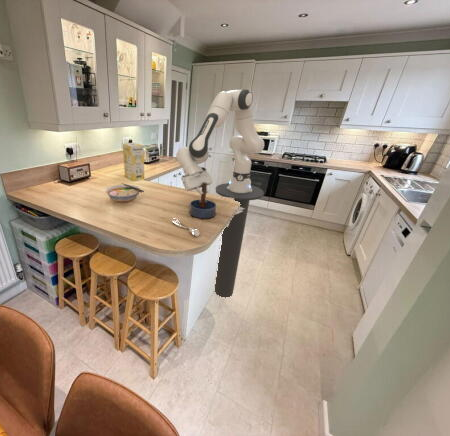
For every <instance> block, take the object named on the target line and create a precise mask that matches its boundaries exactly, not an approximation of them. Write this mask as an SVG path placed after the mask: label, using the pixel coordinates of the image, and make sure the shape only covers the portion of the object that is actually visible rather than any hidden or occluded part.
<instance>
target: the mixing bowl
mask: <svg viewBox="0 0 450 436" xmlns="http://www.w3.org/2000/svg"><path fill="white" fill-rule="evenodd" d="M199 200H201V198H200V199H193V200H191V201H190V202H189V215H191V216H193V217H194V218H198V219H210V218H213V217H215V216H216V214H217V213H216V212H217V203H215V202H214V201H213V200H208V199H205V200H206V201H207V206H206V207H200V206H199Z"/></svg>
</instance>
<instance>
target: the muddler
mask: <svg viewBox="0 0 450 436" xmlns="http://www.w3.org/2000/svg"><path fill="white" fill-rule="evenodd" d="M206 189H207V190H208V185H207V183H206V182H202V187H201V191H203V192H204V194H203V195H200V199H201V200H200V199H198V200H199V206H200V207H206V206H207V201H206V200H207V199H206V197H207V193H206Z"/></svg>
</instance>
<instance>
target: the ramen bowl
mask: <svg viewBox="0 0 450 436" xmlns="http://www.w3.org/2000/svg"><path fill="white" fill-rule="evenodd" d="M144 192H145V190H143V189H141V188H140V187H139V186H137V185H134V184H126V183H124V182H123V183H122V184H117V185H112V186H109V187H108V188H106V189H105V193H106V195H108V197H109V198H110V199H111V200H113V201H115V202H120V203H127V202H130V201H132V200H134V199H136V197H138V196H139V194H140V193H144Z"/></svg>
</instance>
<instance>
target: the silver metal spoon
mask: <svg viewBox="0 0 450 436" xmlns="http://www.w3.org/2000/svg"><path fill="white" fill-rule="evenodd" d="M171 222H172V223H173V224H175V226H177V227H180V228H183V229H188V231H189V232H190V233H191V234H192V235H193V236H195V237H199V236H200V233H201V232H200V230H199V229H198V228H197V227H188V226H184V225H183V224H182V223H181V222H180V221H179V219H178V218H176V217H172V218H171Z"/></svg>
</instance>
